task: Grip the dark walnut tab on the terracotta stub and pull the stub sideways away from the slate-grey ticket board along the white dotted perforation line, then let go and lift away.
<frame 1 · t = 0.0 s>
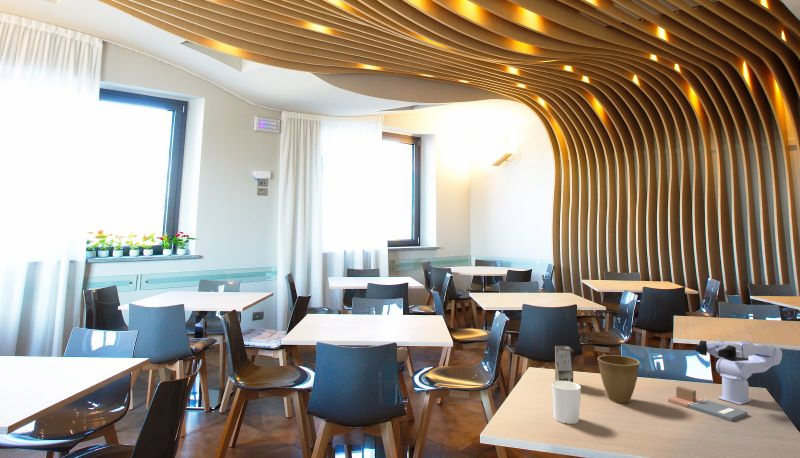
hand: (707, 351, 165), 22 cm above the table, tool horizontal, fingers open, 7 cm apart
stub: (686, 395, 172), point 3 cm above the table, slide at 0.0 cm
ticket: (717, 411, 162), on the table
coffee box: (564, 385, 191), on the table
candle holder: (566, 419, 154), on the table
plant pot: (618, 400, 173), on the table
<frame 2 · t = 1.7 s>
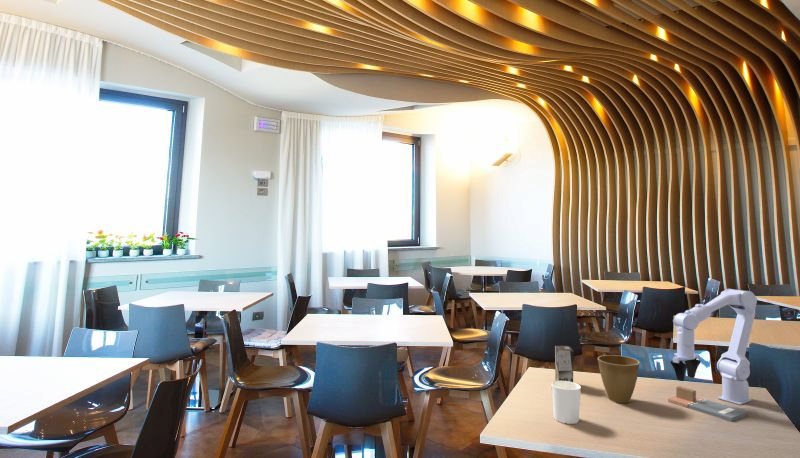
hand: (685, 378, 172), 9 cm above the table, tool pointing down, fingers open, 7 cm apart
nothing on the table moved.
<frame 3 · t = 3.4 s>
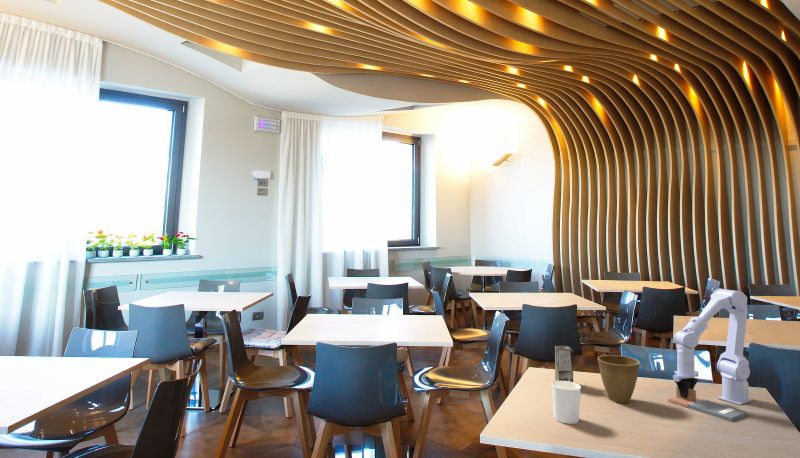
hand: (686, 397, 172), 2 cm above the table, tool pointing down, fingers closed on stub, 2 cm apart
stub: (686, 395, 172), point 3 cm above the table, slide at 0.0 cm, touching gripper
everything else where it was.
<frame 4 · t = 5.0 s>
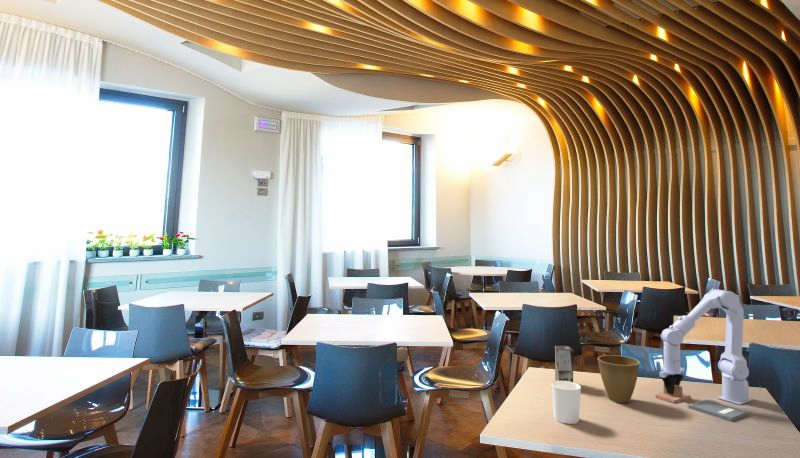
hand: (672, 392, 177), 2 cm above the table, tool pointing down, fingers closed on stub, 2 cm apart
stub: (672, 391, 176), point 3 cm above the table, slide at 5.0 cm, touching gripper
everything else where it was.
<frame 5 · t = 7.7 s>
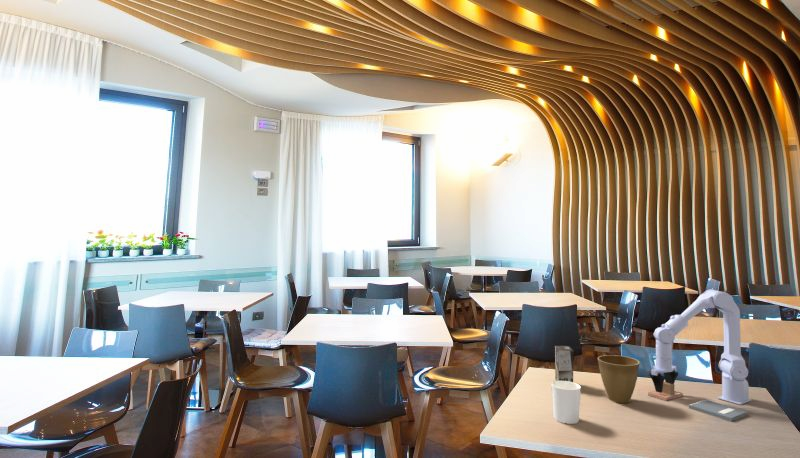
hand: (664, 390, 179), 2 cm above the table, tool pointing down, fingers open, 7 cm apart
stub: (665, 389, 179), point 3 cm above the table, slide at 8.0 cm
everything else where it was.
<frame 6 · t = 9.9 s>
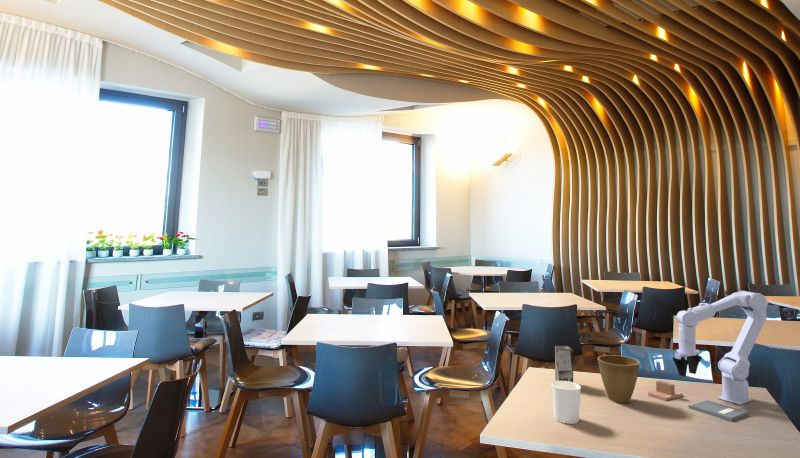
hand: (687, 374, 176), 9 cm above the table, tool pointing down, fingers open, 7 cm apart
nothing on the table moved.
at the end: stub slide at 8.0 cm; the gripper is holding nothing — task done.
